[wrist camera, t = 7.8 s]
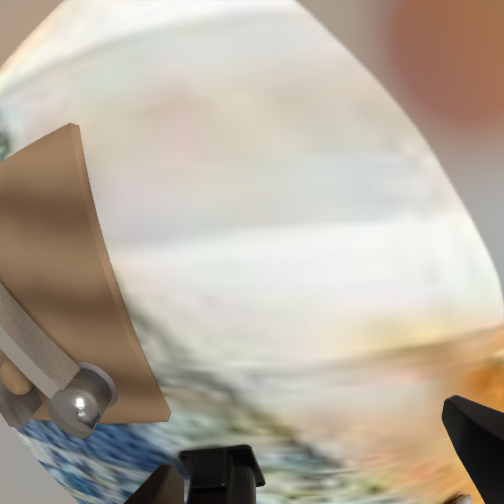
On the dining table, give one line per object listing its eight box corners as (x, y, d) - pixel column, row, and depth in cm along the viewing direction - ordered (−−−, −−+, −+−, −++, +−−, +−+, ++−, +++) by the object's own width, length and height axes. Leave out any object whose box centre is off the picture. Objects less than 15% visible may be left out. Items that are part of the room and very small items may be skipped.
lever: (119, 391, 19) (97, 431, 15) (99, 412, 20) (78, 449, 15) (-27, 233, 17) (-65, 244, 12) (-37, 264, 17) (-72, 278, 13)
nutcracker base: (171, 411, 21) (156, 458, 16) (34, 412, 22) (11, 441, 17) (78, 125, 17) (33, 112, 12) (-45, 201, 17) (-84, 207, 12)
